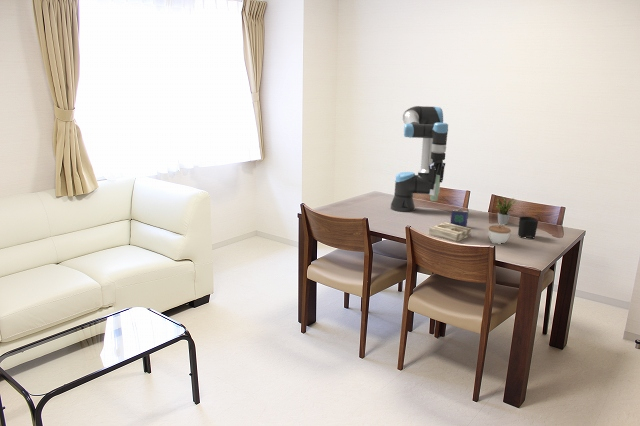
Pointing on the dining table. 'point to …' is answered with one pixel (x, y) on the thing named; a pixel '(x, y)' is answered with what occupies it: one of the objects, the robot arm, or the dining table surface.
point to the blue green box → (459, 217)
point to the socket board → (450, 232)
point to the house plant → (504, 211)
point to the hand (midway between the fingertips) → (434, 194)
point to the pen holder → (527, 227)
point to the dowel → (436, 189)
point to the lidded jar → (499, 233)
